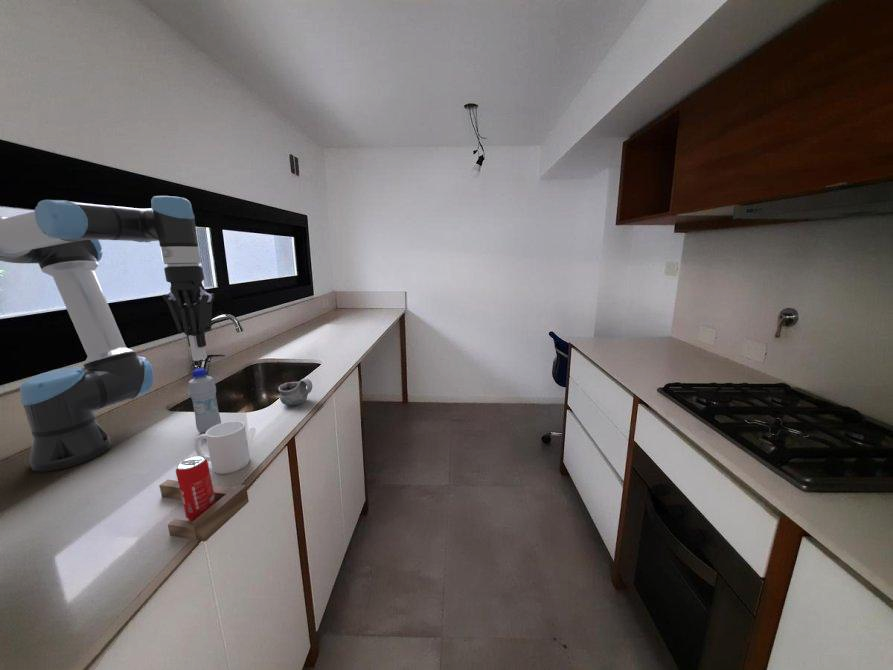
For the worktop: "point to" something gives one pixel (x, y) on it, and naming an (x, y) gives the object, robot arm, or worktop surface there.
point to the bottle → (204, 400)
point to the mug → (295, 392)
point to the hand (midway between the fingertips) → (200, 359)
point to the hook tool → (213, 517)
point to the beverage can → (195, 486)
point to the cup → (225, 447)
